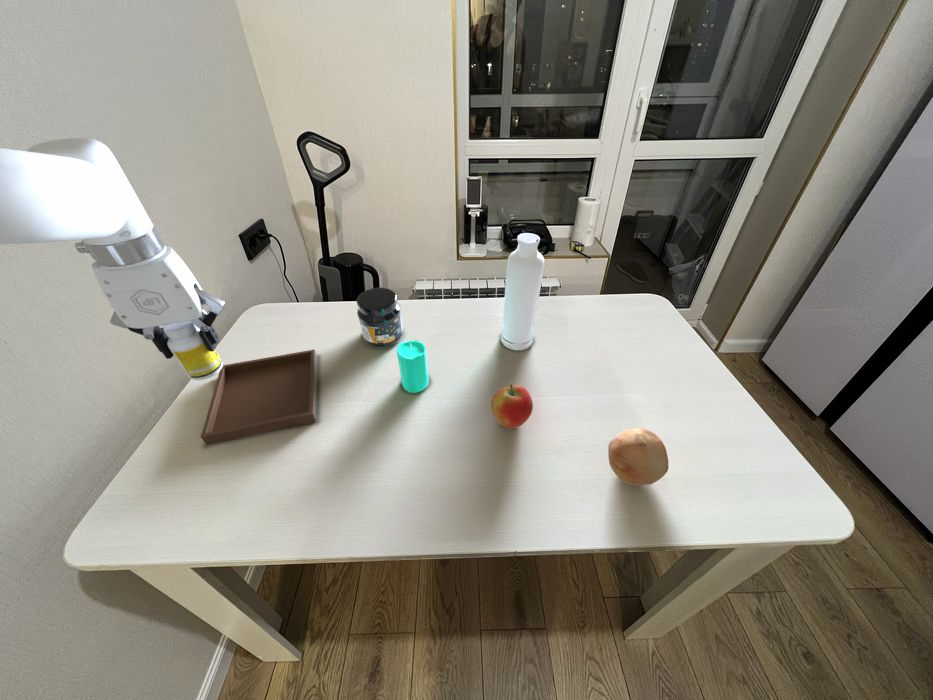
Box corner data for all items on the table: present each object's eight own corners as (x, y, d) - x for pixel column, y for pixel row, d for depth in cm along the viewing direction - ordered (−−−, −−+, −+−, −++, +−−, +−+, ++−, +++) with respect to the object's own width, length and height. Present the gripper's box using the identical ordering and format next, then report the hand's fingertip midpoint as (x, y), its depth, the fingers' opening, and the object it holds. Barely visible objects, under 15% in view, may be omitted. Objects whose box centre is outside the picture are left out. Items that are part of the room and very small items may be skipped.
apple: (506, 443, 74) (510, 410, 67) (483, 416, 79) (484, 383, 72) (537, 425, 77) (544, 392, 71) (513, 400, 82) (517, 367, 76)
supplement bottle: (230, 366, 65) (204, 321, 59) (199, 385, 62) (168, 340, 56) (212, 355, 68) (185, 310, 61) (182, 373, 64) (150, 328, 58)
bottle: (500, 329, 101) (508, 229, 82) (531, 330, 101) (545, 230, 82) (501, 349, 95) (510, 246, 76) (533, 350, 95) (550, 247, 76)
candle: (397, 389, 85) (390, 349, 77) (409, 371, 89) (403, 331, 81) (422, 395, 83) (417, 355, 75) (432, 377, 88) (429, 337, 80)
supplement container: (360, 349, 95) (350, 310, 87) (366, 324, 103) (358, 286, 95) (402, 348, 95) (396, 310, 87) (405, 323, 103) (400, 285, 95)
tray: (206, 445, 74) (200, 437, 72) (226, 373, 89) (221, 365, 87) (316, 421, 78) (312, 413, 76) (317, 357, 93) (314, 349, 91)
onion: (653, 506, 65) (675, 475, 58) (595, 480, 68) (609, 448, 62) (661, 462, 71) (682, 430, 64) (608, 441, 74) (622, 408, 68)
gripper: (34, 269, 45) (124, 375, 57) (193, 250, 49) (246, 354, 61) (65, 242, 51) (141, 344, 63) (206, 227, 54) (253, 327, 66)
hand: (193, 348), depth 62 cm, fingers closed on supplement bottle, 5 cm apart
